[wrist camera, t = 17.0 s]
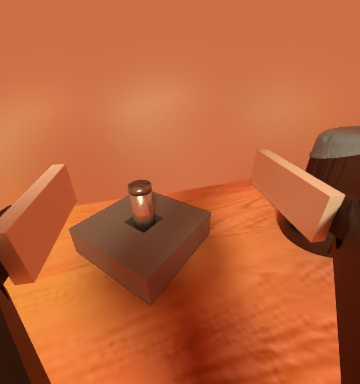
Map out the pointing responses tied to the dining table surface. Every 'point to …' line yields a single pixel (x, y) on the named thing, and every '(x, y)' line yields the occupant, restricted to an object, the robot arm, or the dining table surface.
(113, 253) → the block
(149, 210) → the steel pin
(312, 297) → the dining table surface
